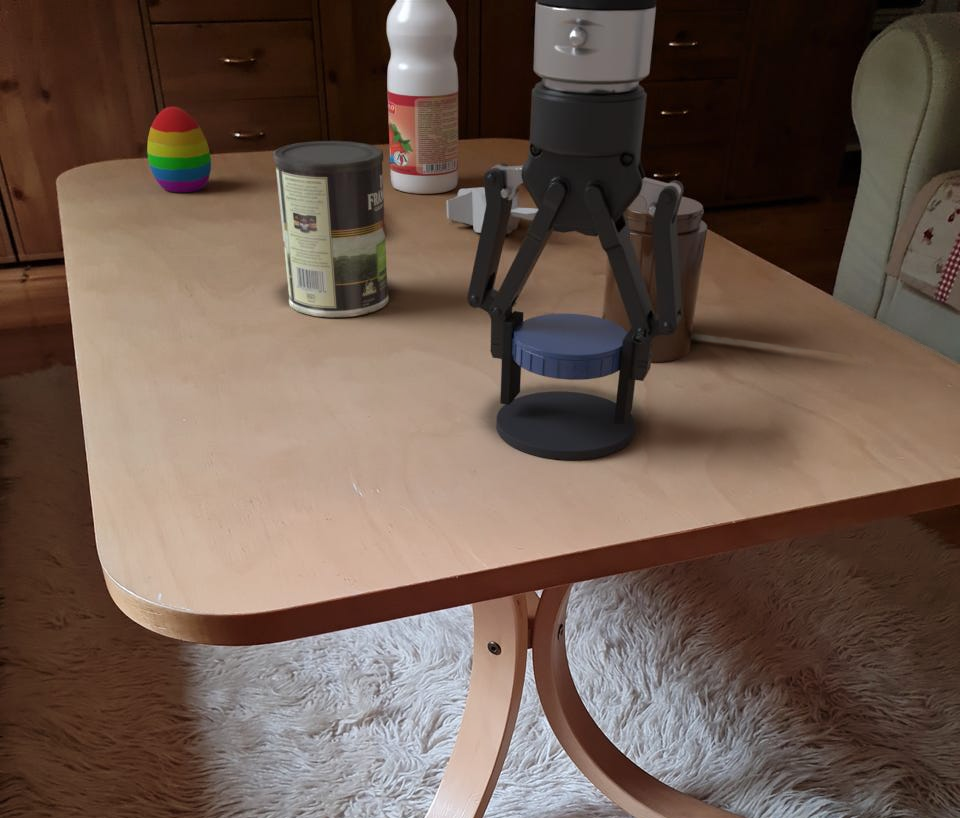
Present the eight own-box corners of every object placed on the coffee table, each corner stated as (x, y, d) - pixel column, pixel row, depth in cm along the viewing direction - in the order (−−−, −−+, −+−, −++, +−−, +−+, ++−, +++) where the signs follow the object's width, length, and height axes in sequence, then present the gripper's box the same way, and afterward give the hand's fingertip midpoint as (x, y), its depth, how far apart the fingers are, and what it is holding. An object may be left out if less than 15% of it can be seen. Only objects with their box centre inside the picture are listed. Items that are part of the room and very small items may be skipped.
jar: (696, 336, 97) (717, 197, 89) (679, 368, 91) (700, 221, 83) (611, 324, 99) (625, 188, 92) (589, 354, 93) (601, 210, 85)
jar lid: (556, 328, 82) (557, 305, 81) (648, 355, 77) (651, 331, 76) (489, 359, 76) (489, 335, 75) (584, 390, 72) (586, 365, 71)
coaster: (647, 412, 83) (648, 403, 83) (615, 470, 75) (616, 461, 74) (521, 391, 86) (521, 382, 86) (476, 445, 78) (476, 436, 77)
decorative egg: (143, 186, 139) (129, 105, 133) (196, 177, 143) (185, 99, 137) (170, 198, 134) (156, 115, 128) (225, 189, 138) (214, 108, 132)
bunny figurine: (503, 178, 129) (553, 192, 117) (504, 221, 132) (553, 239, 120) (434, 184, 126) (477, 198, 114) (436, 228, 129) (478, 246, 117)
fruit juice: (451, 197, 137) (450, -53, 120) (383, 193, 138) (373, -55, 121) (463, 180, 144) (464, -57, 127) (399, 177, 146) (392, -59, 129)
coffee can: (391, 285, 108) (386, 140, 99) (385, 319, 99) (379, 164, 91) (295, 283, 107) (281, 138, 99) (280, 317, 99) (264, 163, 91)
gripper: (416, 77, 66) (422, 403, 79) (746, 104, 60) (691, 450, 74) (458, 62, 71) (456, 369, 85) (763, 85, 66) (709, 410, 79)
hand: (565, 406), depth 79 cm, fingers closed on jar lid, 8 cm apart
